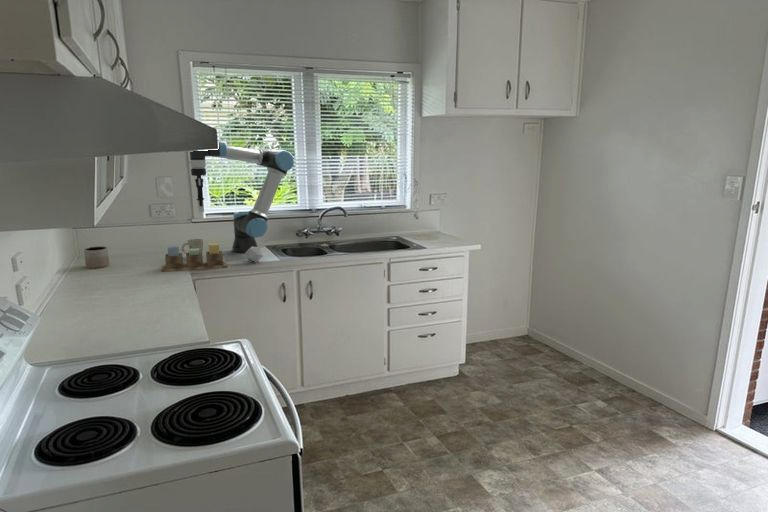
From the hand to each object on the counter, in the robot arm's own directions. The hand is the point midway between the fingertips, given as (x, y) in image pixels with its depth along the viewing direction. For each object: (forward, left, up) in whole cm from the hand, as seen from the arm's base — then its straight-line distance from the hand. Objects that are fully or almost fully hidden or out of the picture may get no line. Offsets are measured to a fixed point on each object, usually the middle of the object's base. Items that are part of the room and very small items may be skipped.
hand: (201, 211), depth 276 cm
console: (+5, +12, -27) cm, 30 cm away
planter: (+53, -4, -28) cm, 60 cm away
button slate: (+15, +12, -23) cm, 30 cm away
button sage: (+5, +12, -25) cm, 28 cm away
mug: (+6, -11, -28) cm, 30 cm away
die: (-26, +9, -28) cm, 39 cm away
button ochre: (-5, +12, -23) cm, 26 cm away
